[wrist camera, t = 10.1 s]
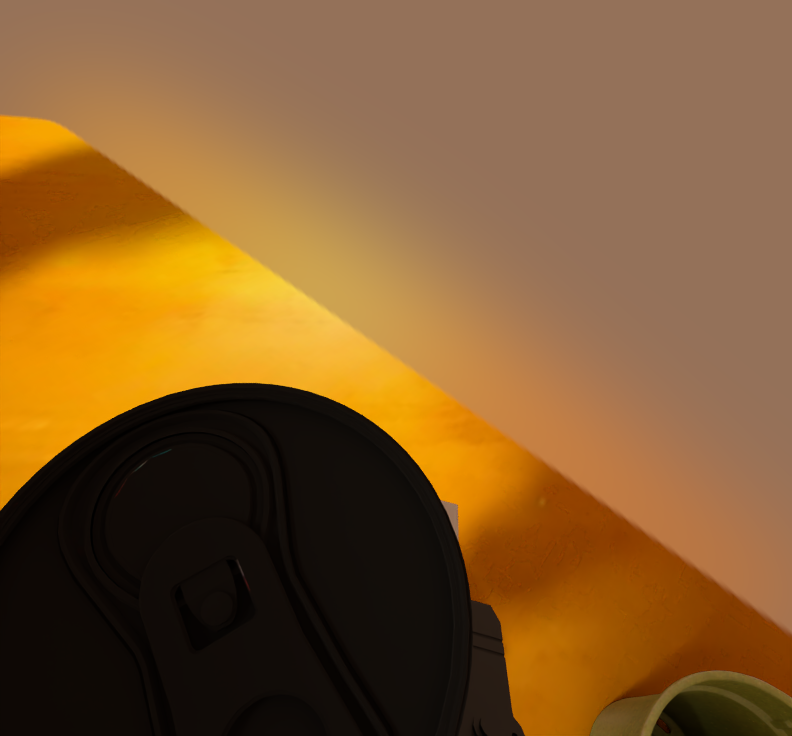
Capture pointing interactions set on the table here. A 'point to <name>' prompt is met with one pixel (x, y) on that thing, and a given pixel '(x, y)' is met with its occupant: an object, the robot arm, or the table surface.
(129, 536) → the beverage can
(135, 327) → the table surface
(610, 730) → the plant pot
